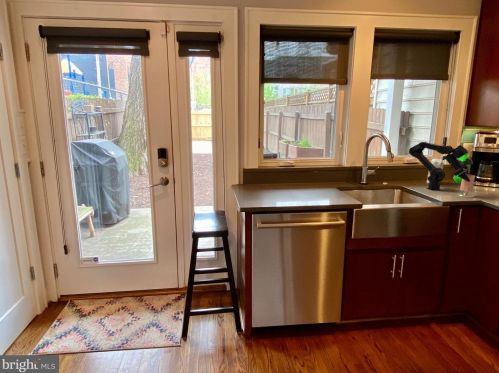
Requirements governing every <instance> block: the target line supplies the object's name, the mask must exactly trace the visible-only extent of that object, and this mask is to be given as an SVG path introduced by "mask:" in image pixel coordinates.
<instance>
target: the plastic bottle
mask: <svg viewBox="0 0 499 373" xmlns="http://www.w3.org/2000/svg"><path fill="white" fill-rule="evenodd" d="M469 153H470V152H469V150H467V154H465V155H463V156H462V157H460V158H457V160H461V161H465V160H466V159H467V158H469V159H471V158H470V157H469V156H468V154H469ZM468 166H469V167H470V166H471V165H468ZM467 169H469V168H467ZM457 176H458V175H457ZM457 176H455V175H454V174H453V179H452V180H453V181H454V182H455V183H456V184H461V182H462V178H460V177H457Z"/></svg>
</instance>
